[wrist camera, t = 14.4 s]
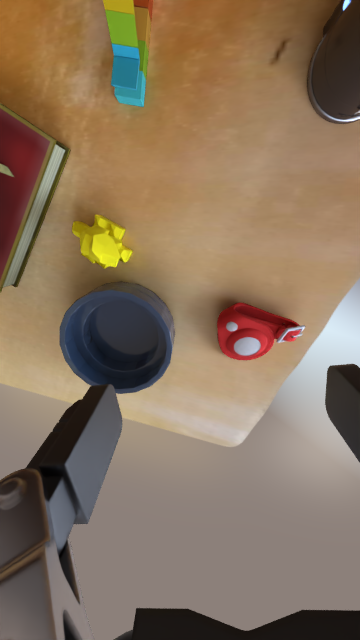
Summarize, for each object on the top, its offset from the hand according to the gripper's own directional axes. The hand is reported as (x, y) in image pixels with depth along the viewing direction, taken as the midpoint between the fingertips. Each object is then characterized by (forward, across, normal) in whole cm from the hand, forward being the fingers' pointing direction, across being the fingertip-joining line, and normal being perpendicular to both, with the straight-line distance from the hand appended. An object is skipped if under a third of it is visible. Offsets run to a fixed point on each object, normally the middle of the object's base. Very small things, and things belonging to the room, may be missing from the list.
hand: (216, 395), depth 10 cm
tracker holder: (+29, -7, +11) cm, 32 cm away
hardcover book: (+29, +26, -13) cm, 41 cm away
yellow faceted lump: (+29, +13, -6) cm, 32 cm away
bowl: (+29, +13, +8) cm, 32 cm away
